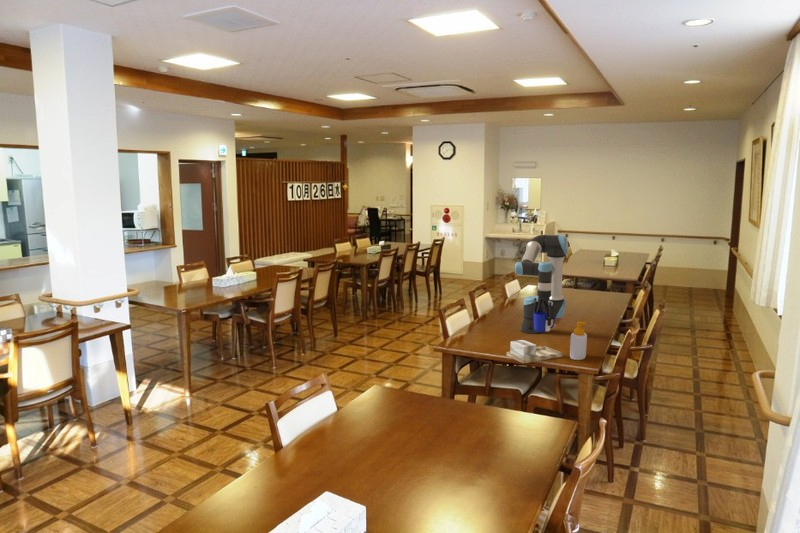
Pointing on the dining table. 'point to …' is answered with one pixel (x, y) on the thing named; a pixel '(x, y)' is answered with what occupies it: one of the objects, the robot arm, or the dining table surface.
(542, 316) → the mug
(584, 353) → the soap bottle
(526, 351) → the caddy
